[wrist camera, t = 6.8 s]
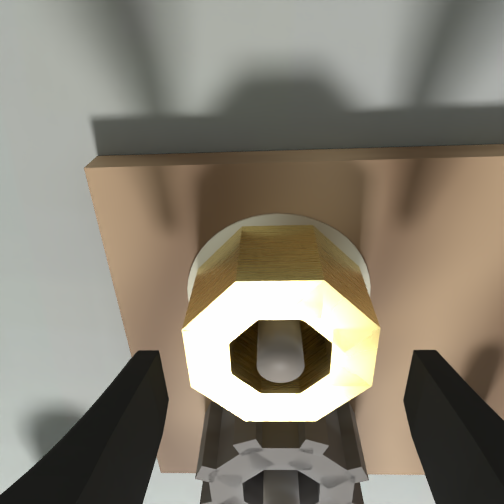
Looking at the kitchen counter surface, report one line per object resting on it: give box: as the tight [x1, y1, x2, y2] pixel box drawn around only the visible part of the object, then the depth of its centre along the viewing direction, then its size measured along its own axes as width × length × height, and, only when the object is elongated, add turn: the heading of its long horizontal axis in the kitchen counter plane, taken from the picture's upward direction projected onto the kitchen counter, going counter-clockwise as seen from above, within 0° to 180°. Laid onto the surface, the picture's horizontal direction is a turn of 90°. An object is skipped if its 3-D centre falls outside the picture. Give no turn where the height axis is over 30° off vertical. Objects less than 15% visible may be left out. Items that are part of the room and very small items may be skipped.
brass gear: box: [182, 225, 380, 421], centre depth 14 cm, size 6×6×3 cm
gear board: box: [84, 144, 504, 504], centre depth 16 cm, size 18×16×5 cm
